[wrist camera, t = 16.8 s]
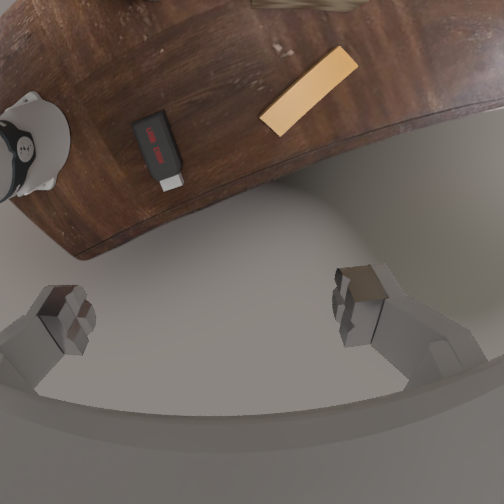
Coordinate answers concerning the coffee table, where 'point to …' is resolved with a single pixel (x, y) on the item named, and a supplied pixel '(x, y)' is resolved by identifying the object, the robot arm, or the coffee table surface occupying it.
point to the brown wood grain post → (310, 4)
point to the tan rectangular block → (308, 90)
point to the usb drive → (159, 150)
